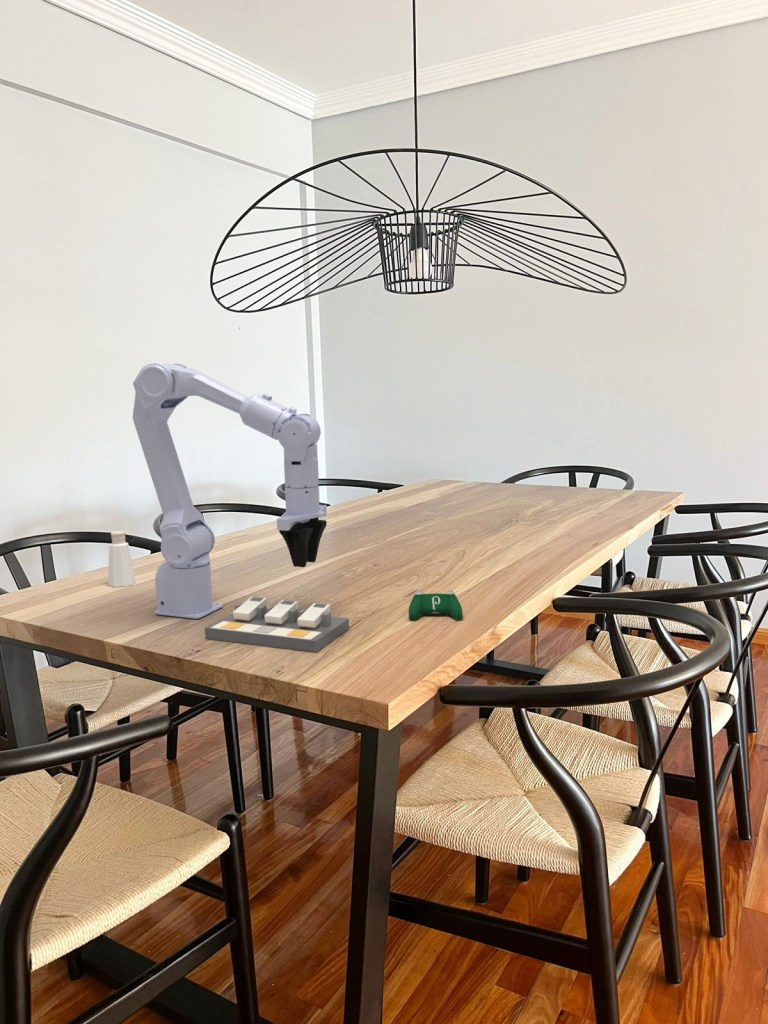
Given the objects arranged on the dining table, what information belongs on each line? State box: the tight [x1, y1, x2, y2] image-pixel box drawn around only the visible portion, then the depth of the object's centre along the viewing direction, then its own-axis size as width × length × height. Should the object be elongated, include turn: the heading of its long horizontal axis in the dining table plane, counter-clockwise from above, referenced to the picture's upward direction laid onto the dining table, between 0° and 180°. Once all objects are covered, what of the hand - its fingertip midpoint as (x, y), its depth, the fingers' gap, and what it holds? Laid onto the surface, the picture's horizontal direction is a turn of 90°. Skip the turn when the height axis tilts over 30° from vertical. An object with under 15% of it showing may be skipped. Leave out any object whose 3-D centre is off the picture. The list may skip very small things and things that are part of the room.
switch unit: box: [204, 602, 350, 653], centre depth 129 cm, size 20×12×4 cm, turn 68°
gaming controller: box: [408, 589, 464, 622], centre depth 137 cm, size 9×4×6 cm
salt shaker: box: [107, 530, 136, 588], centre depth 162 cm, size 5×5×11 cm
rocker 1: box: [232, 596, 268, 620], centre depth 132 cm, size 3×6×1 cm, turn 158°
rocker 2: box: [265, 599, 300, 624], centre depth 130 cm, size 3×6×1 cm, turn 158°
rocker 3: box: [297, 602, 332, 628], centre depth 128 cm, size 3×6×1 cm, turn 158°
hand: (304, 564), depth 137 cm, fingers open, 3 cm apart
